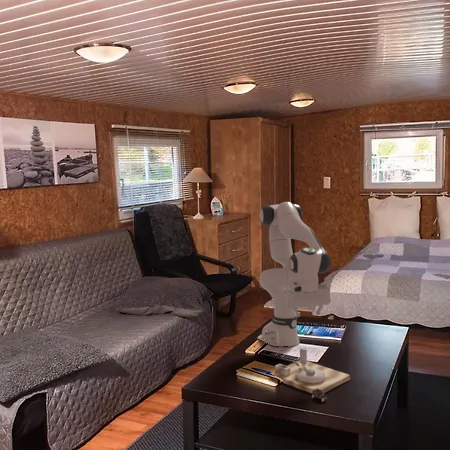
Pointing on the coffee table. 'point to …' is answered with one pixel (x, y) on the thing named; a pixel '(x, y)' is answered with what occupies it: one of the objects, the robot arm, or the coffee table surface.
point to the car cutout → (319, 394)
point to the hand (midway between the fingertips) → (307, 315)
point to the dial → (308, 370)
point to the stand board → (330, 382)
